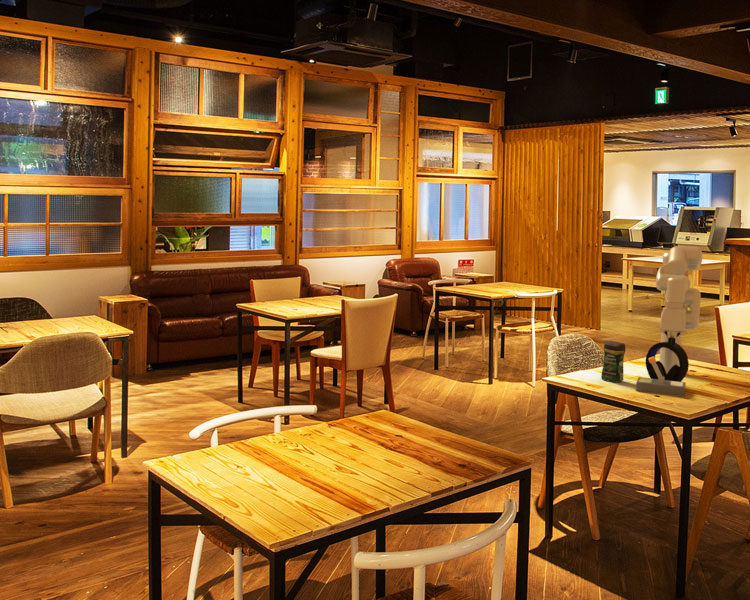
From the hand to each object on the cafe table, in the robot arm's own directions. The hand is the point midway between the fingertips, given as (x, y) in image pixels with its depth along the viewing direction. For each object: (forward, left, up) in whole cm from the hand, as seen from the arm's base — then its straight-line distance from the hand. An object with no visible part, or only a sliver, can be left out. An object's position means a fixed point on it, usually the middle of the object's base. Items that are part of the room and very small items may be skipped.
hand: (671, 346), depth 341 cm
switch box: (+1, -3, -21) cm, 21 cm away
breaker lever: (+1, -3, -15) cm, 16 cm away
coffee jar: (-9, -25, -21) cm, 34 cm away
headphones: (-13, -2, -21) cm, 25 cm away
